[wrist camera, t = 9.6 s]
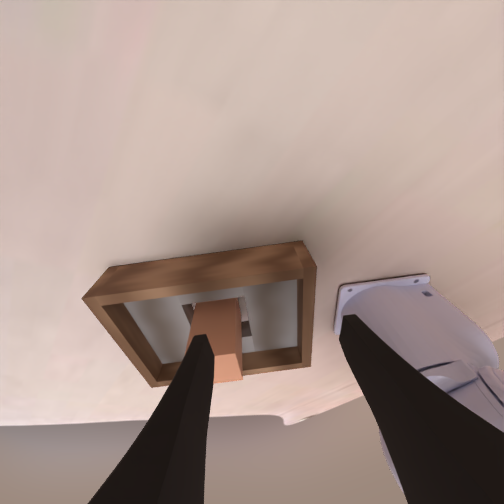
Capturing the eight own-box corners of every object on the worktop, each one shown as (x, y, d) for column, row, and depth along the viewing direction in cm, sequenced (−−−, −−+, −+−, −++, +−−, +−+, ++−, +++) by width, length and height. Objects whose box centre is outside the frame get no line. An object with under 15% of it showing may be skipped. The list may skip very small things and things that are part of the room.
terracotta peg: (235, 290, 22) (235, 353, 16) (241, 315, 24) (242, 379, 18) (197, 295, 22) (183, 360, 16) (206, 320, 24) (197, 385, 18)
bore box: (302, 240, 19) (316, 266, 16) (301, 335, 26) (310, 366, 23) (108, 267, 19) (81, 298, 16) (162, 353, 27) (151, 387, 23)
